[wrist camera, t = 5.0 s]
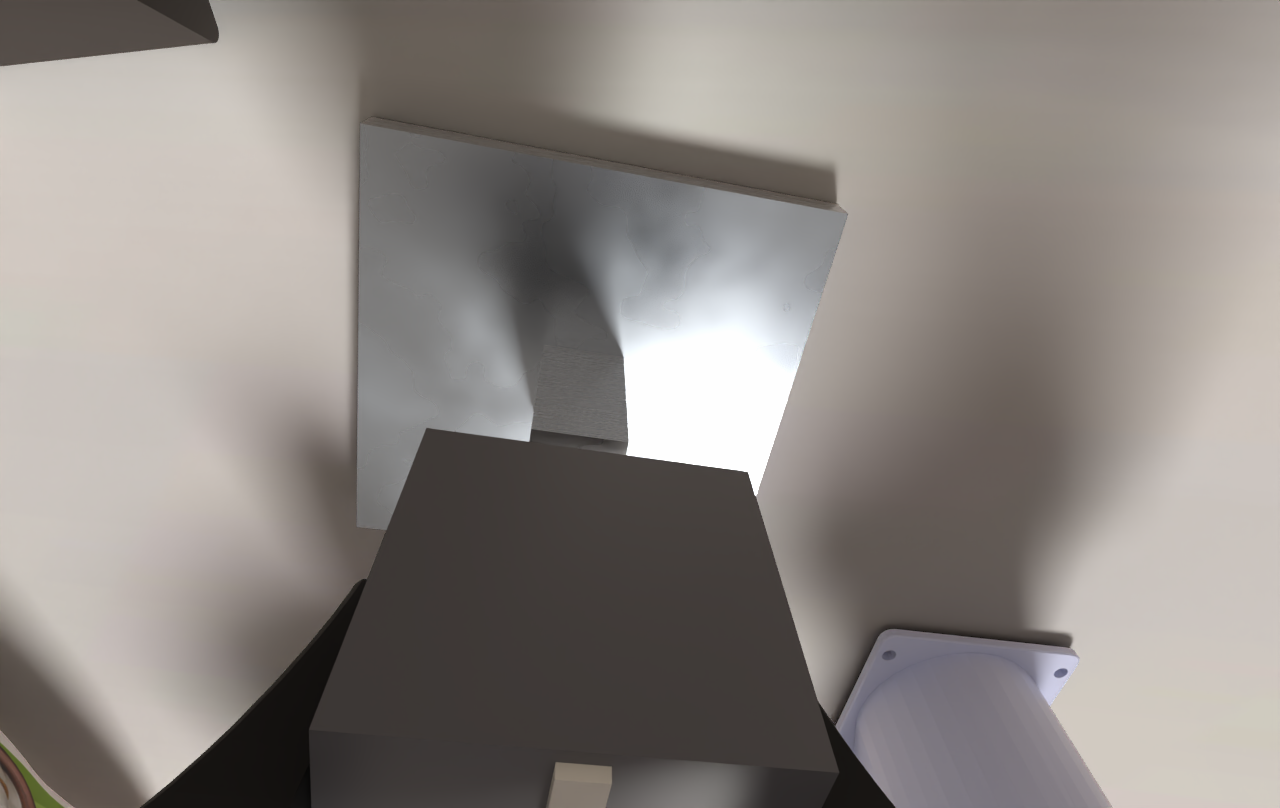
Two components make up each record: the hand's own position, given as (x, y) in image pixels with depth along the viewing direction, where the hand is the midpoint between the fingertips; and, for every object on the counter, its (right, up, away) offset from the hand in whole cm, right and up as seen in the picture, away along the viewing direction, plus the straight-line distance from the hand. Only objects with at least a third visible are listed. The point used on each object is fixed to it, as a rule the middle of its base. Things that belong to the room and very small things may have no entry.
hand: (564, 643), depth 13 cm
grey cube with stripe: (0, +1, +1) cm, 2 cm away
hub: (-1, +5, +9) cm, 10 cm away
